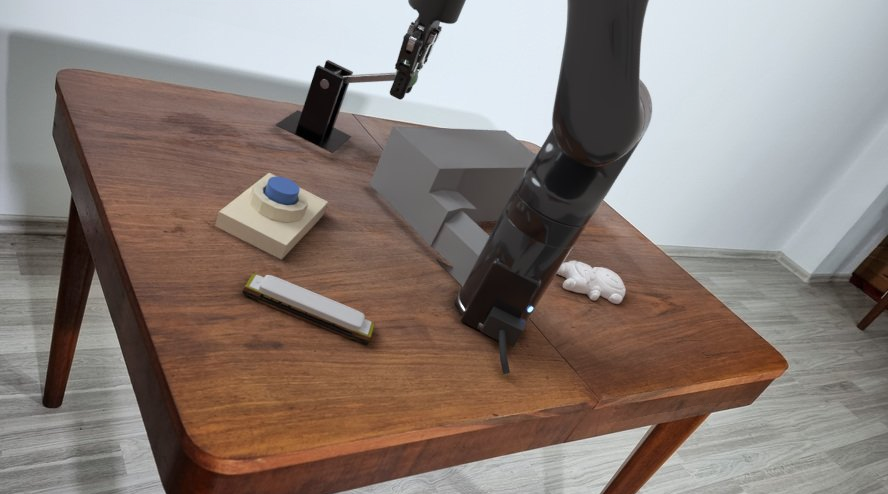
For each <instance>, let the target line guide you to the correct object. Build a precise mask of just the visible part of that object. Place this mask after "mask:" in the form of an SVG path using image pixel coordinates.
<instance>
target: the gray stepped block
mask: <svg viewBox="0 0 888 494" xmlns="http://www.w3.org/2000/svg"><path fill="white" fill-rule="evenodd" d="M536 154H537V153H535V152H533V151H532V149H529V148H528V147H527V146H526V145H524V143H522V142H521V141H519V140H518V139H517V138H515V136H514V135H512V134H510V133H509V132H508V131H507V130H501V129H500V130H499V129H477V128H476V129H475V128H474V129H473V128H449V127H448V128H447V127H425V126H401V125H400V126H399V125H397V126H396V125H392V127H391V130H390V132H389V135H388V137H387V140H386V143H385V145H384V147H383V150H382V152H381V154H380V157H379V160H378V162H377V165H376V168H375V169H374V172H373V175H372V177H371V180H370V182H369V185H370V186H371V187H372V189H374V191H375V192H377V194H378V195H380V197H382V198H383V199H384V201H385V202H386V203H387V204H388V205H389V206H390V207H391V208H392V209H393V210H394V211H395V212H396V213H397V214H398V215H399V216H400V217H401V218H402V219H403V220H404V221H405V222H406V223H407V224H408V225H409V226H410V227H411V228H412V229H413V230H414V231H415V232H416V233H417V234H418V235H419V236H420V237H421V238H422V239H423V240H424V242H426V243H427V244H428V245H429V246H430V247H433V249H435V250H436V252H437V253H438V254H439V255H440V256H441V257H442V258H443V259H444V260H445V261H446V262H447V263H448V264H447V263H445V262H442V261H441V260H438V259H437V258H436V259H435V260H436V261H437V262H438V263H439V264H440V266H442V267H443V268H444V269H445V270H446V271H447V272H448V273H449V274H450V276H452V278H453V279H454V280H456V281H457V283H458V284H459V285H460V286H461V288H462V287H463V285H464V283H465V281H466V280H467V278H468V276H469V274H470V272H471V270H472V268H473V266H474V264H475V262H476V261H477V259H478V257H479V255H480V253H481V251H482V249H483V247H484V246H485V244H486V242H487V240H488V238H489V236H490V234H488V233H487V232H486V231H485V230H484V229H483V228H482V227H480V226H479V224H477V223H485V222H497V221H498V219H499V218H500V216H501V214H502V212H503V210H504V208H505V207H506V205H507V203H508V201H509V199H510V197H511V195H512V194H513V192H514V190H515V188H516V186H517V184H518V182H519V180H520V179H521V177H522V175H523V173H524V171H525V169H526V168H527V166H528V165H529V164H530V162H531V161H532V160H533V158H534V157H535V156H536Z"/></svg>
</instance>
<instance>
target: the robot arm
mask: <svg viewBox="0 0 888 494" xmlns="http://www.w3.org/2000/svg"><path fill="white" fill-rule="evenodd" d="M466 1H467V0H407V3H408V5H409V6H410V7H411V9H413V10H414V11H416V12H417V13H418V17H417V18H416V19H415V20H414V22H413V21H411V22H410V24H409V25H408V29H407V31H406V33H405V34H404V35H403V37H402V38H403V39H402V42H401V46H400V49H399V52H398V57H397V60H396V63H395V64H394V66H395V67H394V69H395V70H396V71H398V72H397V74H396V77H395V79H394V81H392V85H391V87H390V90H389V95H390V96H391V97H394V98H395V99H396V100H397V99H398V100H401V101H402V100H403V99H404V98H405V96H406V94H409V93H411V92H412V89H413V87H414V85H413V86H412V87H409V88H408V86H409V84H410V81H411V79H412V77H413V76H414V74H415V70H417V72H418V73H419V72H420V71H422V69H423V68H424V65H425V64H426V63H427V62H428V58H429V57H430V56H431V54H432V52H433V48H434V46H435V44H436V42H437V41H438V39H439V38H440V35H441V33H442V30H443V28H442V26H440V24H441V23H442V24H446V25H447V24H448V25H452V24H453V25H454V24H456V23H457V22H458V21H459V18H460V15H461V13H462V10H463V8H464V6H465V3H466ZM649 2H650V0H567V4H566V5H567V6H566V7H567V9H566V29H565V35H564V36H565V37H564V43H563V50H562V55H561V62H560V68H559V73H558V79H557V86H556V91H555V97H554V102H553V107H552V116H551V125H552V128H551V130H550V132H549V133H548V135H547V137H546V138H545V141H544V142H543V144H542V145H541V147H540V148H539V150H538V151H537V153H535V154H536V156H535V157H534V158H533V160H532V161H531V162H530V164H529V165H528V166H527V168H526V169H525V171H524V173H523V175H522V177H521V179H520V180H519V182H518V184H517V186H516V188H515V190H514V192H513V194H512V195H511V197H510V199H509V201H508V203H507V205H506V207H505V208H504V210H503V212H502V214H501V216H500V218H499V219H498V221H496V223H495V225H494V227H493V228H492V231H491V233H490V234H489V238H488V240H487V242H486V244H485V246H484V247H483V249H482V251H481V253H480V255H479V257H478V259H477V261H476V262H475V264H474V266H473V268H472V270H471V272H470V274H469V276H468V278H467V280H466V281H465V283H464V285H463V287H462V286H461V288H460V289H459V291H458V293H457V295H456V297H455V306H456V309H457V311H458V312H459V314H460V315H461V318H460V321H461V323H464V324H466V325H467V326H470V327H472V328H474V329H476V330H478V331H479V332H481V333H482V334H483V335H486V336H488V337H490V338H492V339H494V340H496V341H498V351H499V359H500V360H499V361H500V365H501V371H502V375H508V374H511V370H510V366H509V359H508V352H507V346H508V347H509V348H512V349H514V348H515V346H516V345H517V343H518V341H519V340H520V339H521V336H522V335H523V334H524V332H525V327H526V324H527V322H529V321H528V320H529V319H530V318H531V316H532V314H533V313H534V311H535V309H536V307H537V306H538V305H539V303H540V301H541V300H542V298H543V296H544V295H545V294H546V292H547V290H548V288H549V286H550V285H551V283H552V282H553V280H554V278H555V277H556V275H558V274H557V272H558V270H559V269H560V267H561V265H562V264H563V262H566V260H567V258H568V256H569V254H570V253H571V252H572V250H573V248H574V246H575V245H576V243H577V241H578V240H579V238H580V237H581V235H582V233H583V232H584V231H585V229H586V227H587V226H588V224H589V222H590V221H591V219H592V218H593V216H594V215H595V213H596V211H597V210H598V209H599V207H600V206H601V204H602V202H603V201H604V200H605V198H606V197H607V196H608V194H609V192H610V190H611V189H612V187H613V185H614V184H615V182H616V180H617V179H618V178H619V176H620V174H621V173H622V171H623V170H624V168H625V166H626V165H627V163H628V162H629V160H630V159H631V157H632V155H633V153H634V152H635V150H636V149H637V147H638V146H639V144H640V142H641V141H642V139H643V138H644V136H645V134H646V132H647V131H648V129H649V126H650V124H651V120H652V116H653V101H652V100H653V99H652V97H651V93H650V91H649V89H648V87H647V86H646V84H645V83H644V81H643V80H642V79H641V78H640V76H641V53H642V51H641V50H642V38H643V37H642V36H643V28H644V23H645V19H646V18H645V17H646V13H647V10H648V9H647V8H648V5H649ZM406 64H410V66H408V65H406Z"/></svg>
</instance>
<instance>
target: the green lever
mask: <svg viewBox="0 0 888 494" xmlns="http://www.w3.org/2000/svg"><path fill="white" fill-rule="evenodd" d="M405 64H406V63H405ZM406 65H408V66H410V64H406ZM332 72H334V73H336V74H338V75H340V76H342V77H344V81H343V83H349V84H356V83H378V82H394V79H395V77H396V74H397V72H398V71H397V70H395V72H381V73H361V74H352V75H342V72H341V70H336V71H332ZM418 79H419V72H417V70H415V74H414V76H413V77H412V79H411V81H410V84H409V86H408V88H409V87H412V86H413V87H414V86H415V85H416V83H417V82H418ZM342 86H343V84H342ZM413 87H412V88H413Z"/></svg>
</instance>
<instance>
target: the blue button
mask: <svg viewBox="0 0 888 494" xmlns="http://www.w3.org/2000/svg"><path fill="white" fill-rule="evenodd" d="M275 176H276V177H271V178H270V179H269V180H268V183H267V186H266V189H265V195H266V196H267V197H268V198H269V199H270V200H272V201H274V202H276V203H278V204H283V205H294V204H295V202H296V200H297V197H298V194H299V191H300V189H299V188H300V186H299V185H298V184H297V183H296V182H295V181H293V180H291V179H289V178H287V177H283V176H277V175H275Z"/></svg>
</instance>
